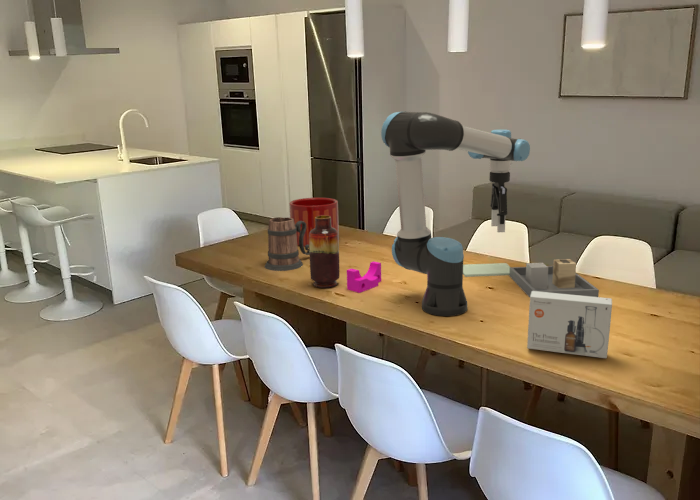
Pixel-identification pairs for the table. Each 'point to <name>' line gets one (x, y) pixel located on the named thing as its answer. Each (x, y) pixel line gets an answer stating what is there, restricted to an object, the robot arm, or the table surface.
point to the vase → (324, 253)
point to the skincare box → (569, 323)
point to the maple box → (564, 273)
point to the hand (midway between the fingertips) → (497, 229)
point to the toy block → (364, 278)
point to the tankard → (285, 244)
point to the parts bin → (580, 284)
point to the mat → (486, 269)
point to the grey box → (537, 275)
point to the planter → (313, 213)
